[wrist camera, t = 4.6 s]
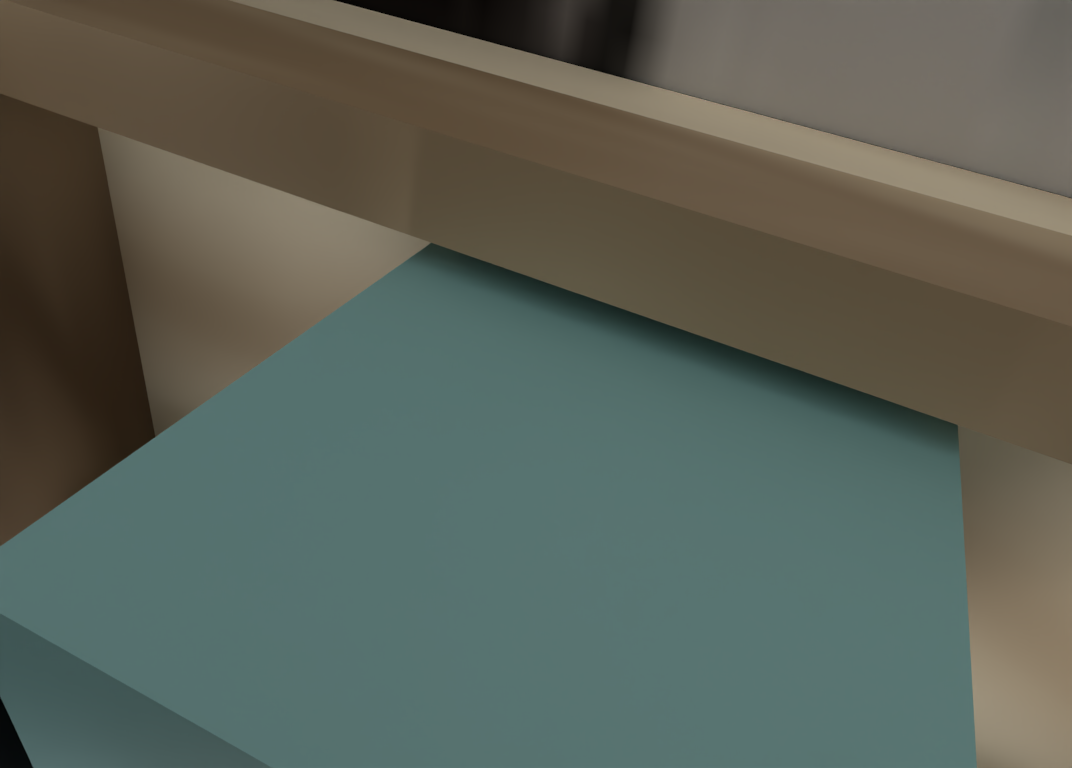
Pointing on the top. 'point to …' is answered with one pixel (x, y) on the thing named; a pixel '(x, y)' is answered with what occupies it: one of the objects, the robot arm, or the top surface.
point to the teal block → (503, 557)
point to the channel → (514, 257)
